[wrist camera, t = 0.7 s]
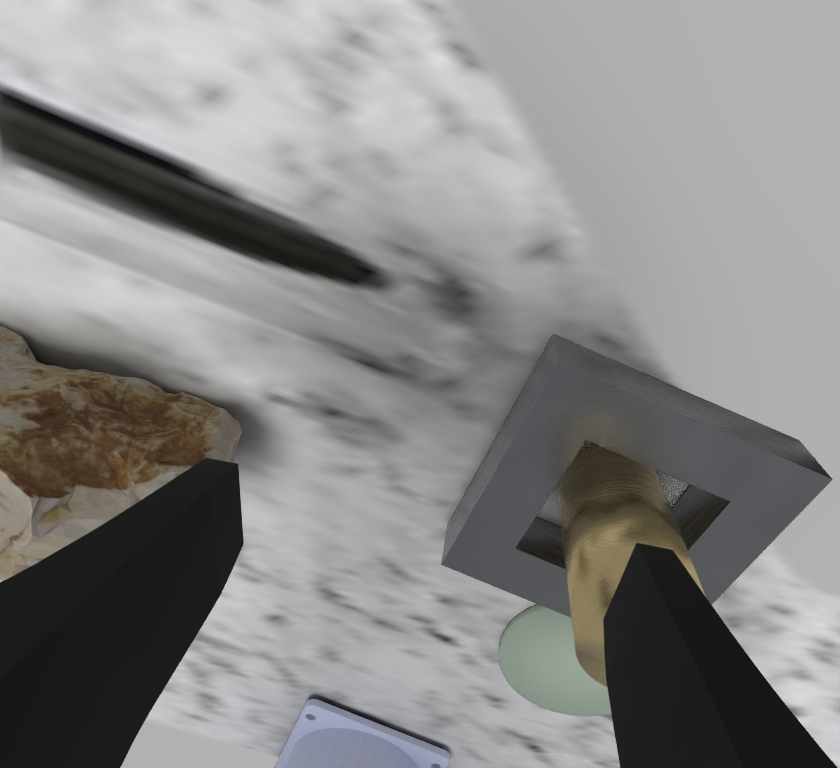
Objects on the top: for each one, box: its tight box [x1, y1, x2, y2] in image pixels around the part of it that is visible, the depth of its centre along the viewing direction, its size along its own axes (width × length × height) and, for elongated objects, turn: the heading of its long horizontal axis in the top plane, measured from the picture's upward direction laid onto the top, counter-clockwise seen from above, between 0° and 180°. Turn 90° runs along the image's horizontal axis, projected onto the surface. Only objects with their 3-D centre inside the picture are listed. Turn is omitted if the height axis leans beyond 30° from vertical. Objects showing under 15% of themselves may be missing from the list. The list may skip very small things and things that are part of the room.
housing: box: [441, 334, 832, 617], centre depth 20 cm, size 9×9×2 cm
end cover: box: [557, 445, 706, 687], centre depth 17 cm, size 4×4×7 cm
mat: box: [499, 604, 612, 716], centre depth 24 cm, size 7×7×1 cm
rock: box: [0, 326, 242, 580], centre depth 19 cm, size 12×7×10 cm, turn 70°
